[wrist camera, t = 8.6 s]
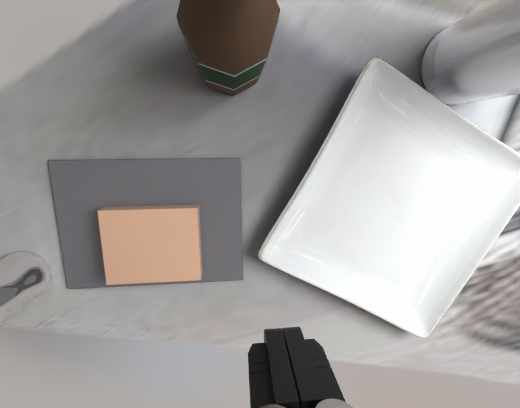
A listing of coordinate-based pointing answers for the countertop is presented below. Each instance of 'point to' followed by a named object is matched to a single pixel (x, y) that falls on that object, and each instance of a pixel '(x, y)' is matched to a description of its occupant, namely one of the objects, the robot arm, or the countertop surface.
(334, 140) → the square plate
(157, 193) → the mat
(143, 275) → the tile
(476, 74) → the robot arm
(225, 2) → the beer bottle
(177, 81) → the countertop surface
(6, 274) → the beer glass
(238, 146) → the countertop surface
